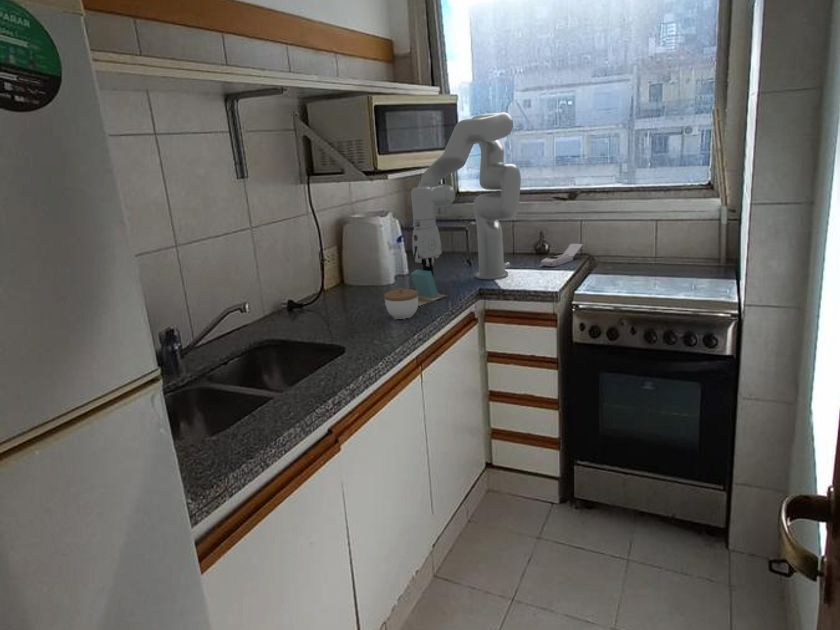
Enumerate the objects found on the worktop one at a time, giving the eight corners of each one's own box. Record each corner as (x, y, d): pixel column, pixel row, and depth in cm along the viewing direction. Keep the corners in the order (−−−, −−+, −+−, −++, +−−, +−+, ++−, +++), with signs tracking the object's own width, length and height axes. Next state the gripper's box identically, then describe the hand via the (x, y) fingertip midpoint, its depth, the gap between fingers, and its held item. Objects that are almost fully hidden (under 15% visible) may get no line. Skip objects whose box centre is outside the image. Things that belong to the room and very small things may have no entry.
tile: (423, 291, 216) (416, 269, 212) (438, 293, 211) (431, 271, 207) (418, 295, 214) (410, 273, 210) (432, 298, 209) (425, 275, 205)
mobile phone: (583, 243, 256) (549, 254, 240) (584, 257, 258) (549, 269, 241) (571, 243, 260) (536, 253, 244) (571, 256, 262) (537, 267, 246)
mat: (424, 293, 219) (424, 291, 219) (447, 297, 212) (447, 295, 212) (392, 304, 209) (392, 302, 208) (415, 308, 201) (415, 306, 201)
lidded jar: (426, 313, 194) (424, 285, 191) (407, 323, 185) (405, 293, 183) (398, 310, 200) (396, 283, 197) (379, 320, 191) (376, 291, 189)
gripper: (417, 227, 199) (421, 282, 204) (447, 221, 209) (450, 273, 214) (401, 226, 204) (405, 280, 209) (431, 220, 214) (435, 271, 219)
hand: (428, 276), depth 211 cm, fingers closed
